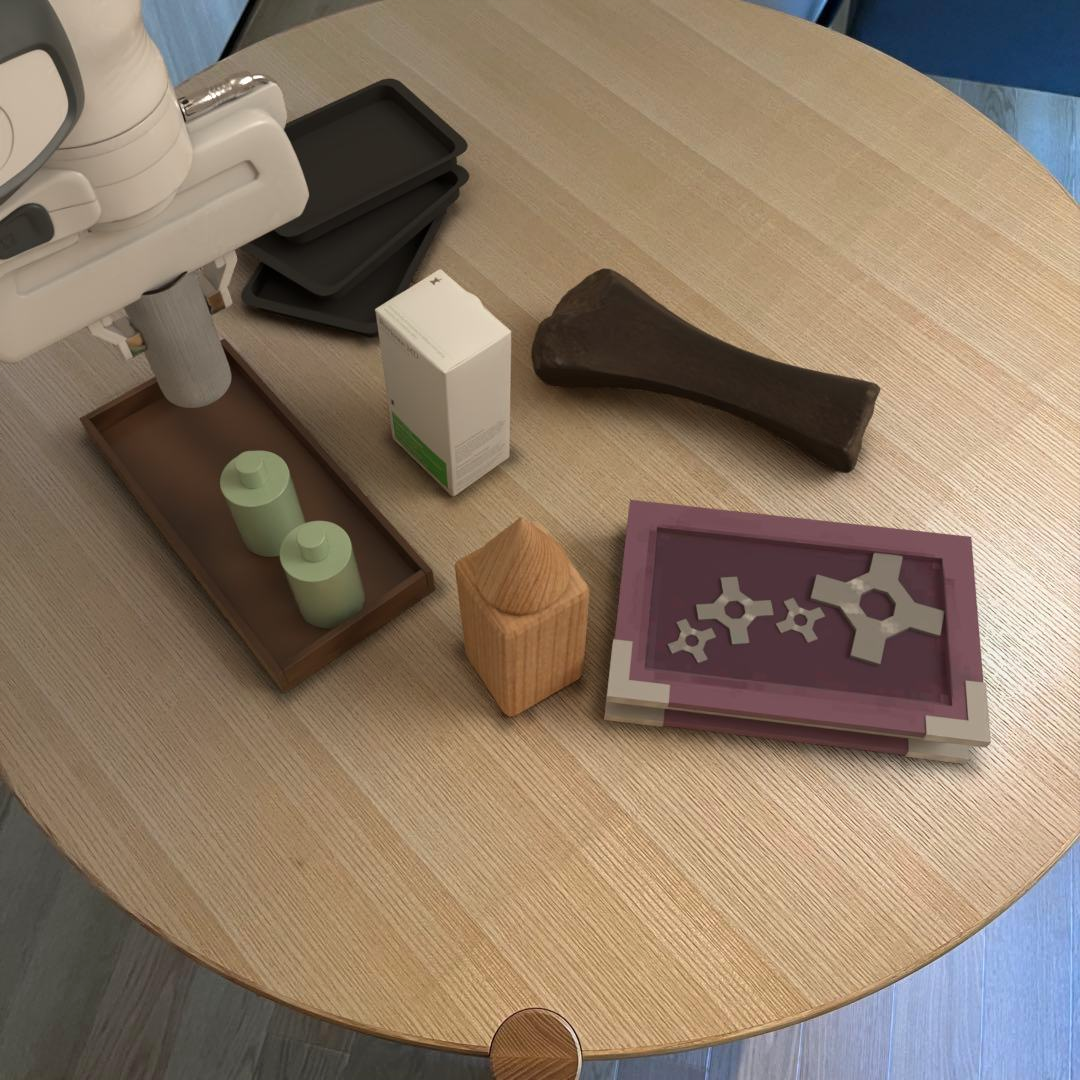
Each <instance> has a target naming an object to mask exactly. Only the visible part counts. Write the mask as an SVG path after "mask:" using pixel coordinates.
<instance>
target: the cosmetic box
mask: <svg viewBox="0 0 1080 1080" xmlns="http://www.w3.org/2000/svg"><path fill="white" fill-rule="evenodd" d="M375 312H376V318H377V325H378V333H379V336H378V338H379V347H380V353H381V362H382V368H383V376H384V383H385V390H386V398H387V405H388V412H389V413H388V414H389V420H390V426H391V436H392V439H393V440H394V442H395V443H397V445H398V446H400V447H401V448H402V449H403V450H404V451H405V452H406V453H407V454H408V455H409V456H410V458H412V459H413V460H414V461H415V462H416V463H417V464H418V465H419V466H420V467H421V468H422V469H423V470H424V471H425V472H426V473H427V474H429V475H430V477H431V478H433V480H434V481H436V483H438V484H439V486H440V487H442V488H443V489H444V491H445V492H447V494H449V495H450V496H451V497H455V496H457V495H458V494H459V493H461V492H462V491H464V490H466V489H467V488H468V487H470V486H471V485H472V484H474V483H476V482H477V481H478V480H479V479H481V478H482V477H484V476H485V475H486V474H488V473H489V472H491V471H492V470H494V469H495V468H496V467H498V466H499V465H501V464H502V463H503V462H505V461H506V460H508V459H509V458H510V457H511V456H510V455H511V454H510V450H511V448H510V445H511V442H510V441H511V440H510V438H511V437H510V436H511V372H512V371H511V369H512V368H511V367H512V366H511V365H512V364H511V363H512V330H511V329H509V328H508V327H507V326H506V325H505V324H504V323H502V321H500V319H498V318H497V317H496V316H495V315H494V314H492V313H491V312H490V311H489V309H487V308H486V307H485V306H484V305H483V303H482V301H481V300H480V298H478V296H477V295H475V294H473V293H472V292H468V291H466V290H465V289H464V288H463V287H462V286H461V285H460V284H458V283H457V282H456V281H455V280H454V279H453V278H451V277H450V276H449V275H448V274H447V273H446V272H444V271H443V270H442V269H440V268H439V269H438V270H435V271H434V272H433V273H431V274H430V275H428V276H426V277H425V278H423V279H421V280H419V281H418V282H417V283H415V284H414V285H412V286H411V287H410V286H409V287H408V289H407V290H406V291H404V292H402V293H401V294H399V295H397V296H396V297H394V298H392V299H391V300H389V301H387V302H386V303H384V304H383V305H381V306H379V307H378V308H376V309H375Z"/></svg>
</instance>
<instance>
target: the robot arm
mask: <svg viewBox="0 0 1080 1080" xmlns="http://www.w3.org/2000/svg"><path fill="white" fill-rule="evenodd" d="M287 120H288V111H287V108H286V104H285V99H284V95H283V91H282V88H281V87H280V84H279V83H278V82H277V80H275V78H274V77H272V76H270V75H269V74H265V73H251V72H250V71H249V70H240V71H237V72H234V73H232V74H230V75H228V76H226V77H225V78H224V80H221V81H219V82H218V83H215V84H213V85H210V86H206V87H203V88H200V89H198V90H195V91H193V92H190V93H188V94H186V95H184V96H182V97H180V98H177V94H176V91H175V88H174V86H173V82H172V79H171V77H170V74H169V71H168V66H167V64H166V61H165V59H164V56H163V55H162V53H161V51H160V49H159V47H158V46H157V45H156V43H155V42H154V40H153V39H152V38H151V37H150V35H149V33H148V31H147V28H146V26H145V23H144V19H143V0H0V363H2V364H3V363H4V364H8V365H15V364H18V363H20V362H21V361H23V360H26V359H27V358H29V357H31V356H33V355H35V354H37V353H39V352H40V351H41V352H42V351H43V350H44V349H46V348H48V347H50V346H53V345H54V344H56V343H58V342H60V341H62V340H64V339H66V338H68V337H70V336H71V335H73V334H75V333H77V332H79V331H81V330H83V329H85V328H86V330H87V331H88V332H89V333H90V335H91V336H92V337H96V338H98V339H100V340H103V341H105V342H107V343H109V344H112V346H113V348H114V349H115V351H116V352H117V353H118V355H119V356H120V357H121V359H122V360H123V361H124V362H128V361H130V360H131V359H134V358H135V357H137V356H139V355H141V354H144V351H146V350H147V348H146V345H145V344H144V343H143V339H142V336H141V334H140V332H139V331H138V330H137V329H136V328H135V327H134V326H132V324H131V322H130V320H129V318H128V316H127V315H124V316H122V317H120V318H118V319H116V320H113V318H112V317H111V315H112V314H114V313H116V312H117V311H119V310H121V309H124V307H125V306H127V305H129V304H131V303H133V302H135V301H137V300H139V299H140V298H141V295H142V294H143V293H144V292H147V291H151V290H156V289H159V288H162V287H164V286H166V285H168V284H170V283H171V282H173V281H174V280H175V279H176V278H177V277H178V276H179V275H180V274H182V273H183V272H185V271H188V272H189V273H191V272H193V271H195V272H196V271H197V270H199V269H202V268H203V271H202V275H200V276H197V278H198V281H199V284H200V287H201V289H202V292H203V295H204V298H205V300H206V303H207V306H208V309H209V311H210V314H211V316H213V315H215V314H217V313H219V312H221V311H223V310H225V309H227V308H229V307H230V306H233V300H232V297H231V294H230V291H229V288H228V287H229V286H230V284H231V280H232V278H233V274H234V271H235V268H236V265H237V262H238V256H237V252H236V250H237V249H239V247H241V246H243V245H245V244H247V243H249V242H251V241H253V240H255V239H257V238H258V237H260V236H262V235H264V234H266V233H268V232H270V231H272V230H274V229H276V228H278V227H280V226H282V225H284V224H286V223H288V222H289V221H291V220H293V219H295V218H297V217H299V216H300V215H301V214H302V212H303V210H304V208H305V206H306V203H307V201H308V198H309V191H308V187H307V184H306V181H305V177H304V174H303V172H302V169H301V166H300V163H299V161H298V158H297V156H296V154H295V151H294V149H293V147H292V145H291V143H290V141H289V139H288V137H287V135H286V133H285V131H284V128H285V125H286V123H287Z"/></svg>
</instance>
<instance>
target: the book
mask: <svg viewBox="0 0 1080 1080" xmlns="http://www.w3.org/2000/svg"><path fill="white" fill-rule="evenodd" d="M627 513H628V514H627V521H626V530H625V536H624V537H625V538H624V547H623V556H622V564H621V575H620V584H619V585H620V586H619V593H618V603H617V611H616V612H617V613H616V623H615V629H614V630H615V632H614V638H613V639H612V646H611V654H610V655H611V656H610V662H609V669H608V680H607V690H606V699H605V706H604V707H605V708H604V717H603V718H604V719H603V720H604V721H610V722H619V723H627V724H636V725H643V726H651V727H658V728H659V727H660V728H663V727H672V728H679V729H688V730H689V729H690V730H696V731H704V732H705V731H706V732H713V733H721V734H730V735H737V736H745V737H752V738H760V739H761V738H762V739H769V740H778V741H787V742H795V743H801V744H803V743H804V744H810V745H820V746H827V747H828V746H829V747H835V748H845V749H852V750H860V751H867V752H868V751H869V752H877V753H886V754H893V755H901V756H904V757H905V758H913V759H921V760H922V759H923V760H929V761H937V762H944V763H954V764H960V765H966V764H967V763H968V762H969V761H970V760H971V756H970V755H971V754H970V747H978V748H985V749H986V748H987V747H989V746H990V744H991V743H992V737H991V727H990V715H989V704H988V702H989V701H988V691H987V682H984V671H983V660H982V658H983V657H982V648H981V637H980V625H979V624H980V623H979V613H978V611H979V610H978V601H977V589H976V577H975V564H974V554H973V553H974V552H973V540H972V536H970V535H969V536H968V535H959V534H950V533H942V532H941V533H940V532H931V531H923V530H922V531H921V530H913V529H904V528H894V527H886V526H876V525H867V524H858V523H848V522H839V521H831V520H822V519H811V518H802V517H793V516H785V515H777V514H776V515H774V514H766V513H757V512H748V511H737V510H730V509H729V510H728V509H720V508H711V507H701V506H692V505H682V504H674V503H672V504H671V503H664V502H655V501H645V500H637V499H629V505H628V511H627Z"/></svg>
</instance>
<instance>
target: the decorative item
mask: <svg viewBox="0 0 1080 1080" xmlns="http://www.w3.org/2000/svg"><path fill="white" fill-rule="evenodd" d="M454 573H455V579H456V587H457V595H458V604H459V611H460V619H461V628H462V637H463V644H464V652H465V656H466V657H467V659H468V661H469V662H470V664H471V665H472V667H473V668H474V670H475V671H476V673H477V675H478V676H479V677H480V679H481V680H482V682H483V684H484V685H485V686H486V688H487V690H488V691H489V693H490V694H491V696H492V697H493V698H494V700H495V703H497V705H498V706H499V708H500V709H501V711H502V712H503V713H504V714H505V715H507V716H508V717H509V718H510V717H514V716H517V715H519V714H520V713H523V712H524V711H526V710H528V709H529V708H532V707H534V705H536V704H538V703H540V702H541V701H543V700H545V699H547V698H549V697H550V696H552V695H554V694H555V693H557V692H559V691H561V690H562V689H564V688H566V687H567V686H569V685H571V684H572V683H574V682H576V681H578V680H579V679H580V678H581V677H582V676H583V674H584V667H585V653H586V642H587V641H586V639H587V629H588V616H589V615H588V614H589V605H590V604H589V603H590V600H589V599H590V589H589V585H588V584H587V582H586V581H585V580H584V578H583V577H582V575H581V574H580V573H579V571H578V570H577V569H576V568H575V566H574V564H572V563H571V561H570V559H569V557H568V555H567V553H566V551H565V549H564V548H563V547H562V546H561V545H560V544H559V543H558V541H556V540H555V539H554V538H553V537H552V535H551V534H550V533H549V531H548V530H547V528H545V526H544V525H543V524H542V523H541V522H539V521H538V520H533V521H528V520H526V519H525V518H523V517H522V516H520V517H519V518H518V519H516V520H514V522H512V523H511V524H510V525H508V526H507V527H505V529H503V530H502V531H500V532H499V533H498V534H496V535H495V536H494V537H492V538H491V539H490V540H488V541H487V542H486V543H485V544H484V545H483V546H481V547H480V548H478V549H476V550H474V551H472V552H470V553H468V554H466V555H464V556H463V557H460V558H459V559H458V561H456V562H455V564H454Z"/></svg>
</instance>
